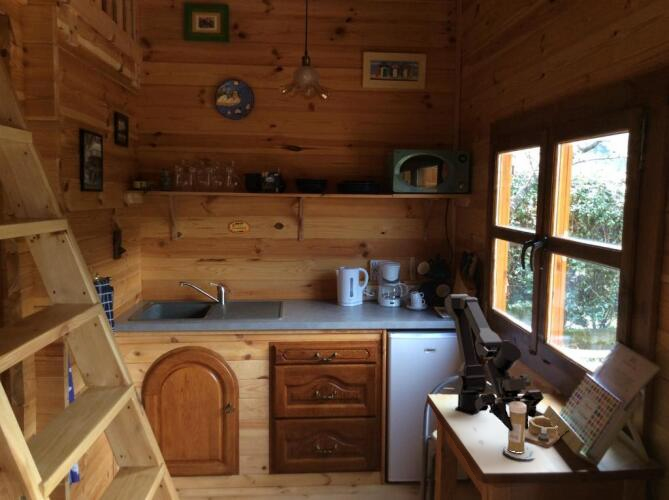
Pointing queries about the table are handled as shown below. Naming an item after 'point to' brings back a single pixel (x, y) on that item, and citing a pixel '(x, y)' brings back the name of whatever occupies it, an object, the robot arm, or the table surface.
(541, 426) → the stand
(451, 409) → the table surface
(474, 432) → the table surface
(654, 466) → the table surface
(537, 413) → the black angular block
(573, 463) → the table surface
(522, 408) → the sprinkles bottle
